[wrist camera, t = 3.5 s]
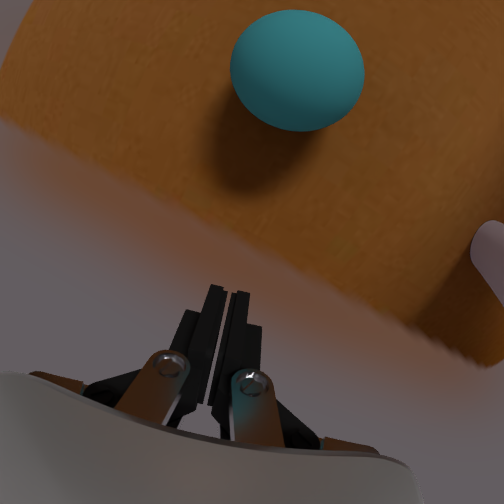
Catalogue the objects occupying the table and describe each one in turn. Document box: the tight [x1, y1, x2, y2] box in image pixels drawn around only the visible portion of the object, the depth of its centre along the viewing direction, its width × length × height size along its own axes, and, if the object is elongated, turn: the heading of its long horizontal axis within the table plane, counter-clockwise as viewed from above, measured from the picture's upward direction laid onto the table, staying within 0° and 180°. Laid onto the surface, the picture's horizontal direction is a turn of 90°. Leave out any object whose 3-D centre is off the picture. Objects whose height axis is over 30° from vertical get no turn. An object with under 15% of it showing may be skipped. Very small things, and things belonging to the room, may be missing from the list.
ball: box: [230, 10, 364, 132], centre depth 10 cm, size 6×6×6 cm
